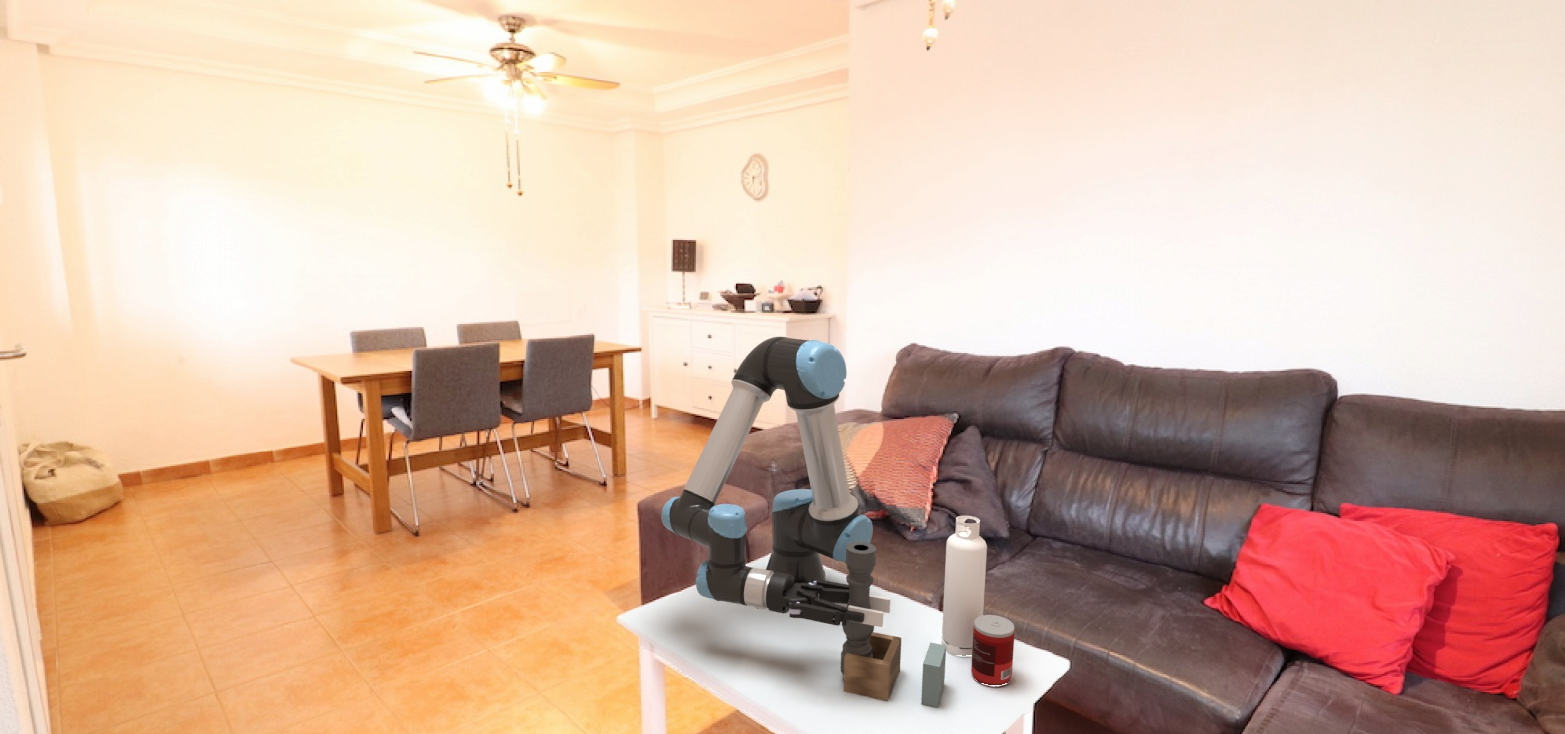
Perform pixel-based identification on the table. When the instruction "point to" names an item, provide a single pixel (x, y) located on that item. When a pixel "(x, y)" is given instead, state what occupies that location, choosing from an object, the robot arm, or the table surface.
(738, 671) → the table surface
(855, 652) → the candle holder
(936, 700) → the block
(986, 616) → the canned food
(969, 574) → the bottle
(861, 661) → the cradle
